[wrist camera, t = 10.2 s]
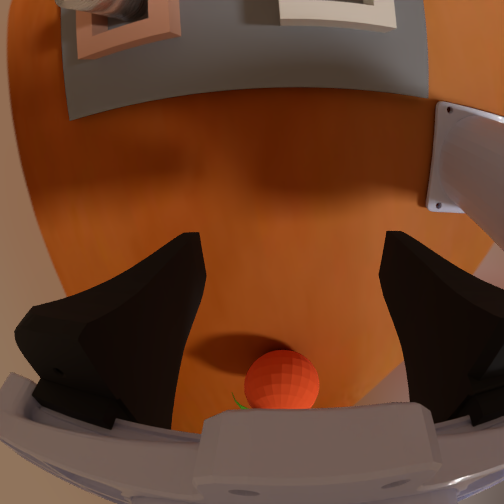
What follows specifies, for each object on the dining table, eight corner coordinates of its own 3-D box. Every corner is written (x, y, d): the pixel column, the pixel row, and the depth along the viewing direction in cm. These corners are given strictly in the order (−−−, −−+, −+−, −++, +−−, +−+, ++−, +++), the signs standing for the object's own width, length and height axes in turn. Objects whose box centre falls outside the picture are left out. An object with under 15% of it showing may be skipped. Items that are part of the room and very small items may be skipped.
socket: (177, -43, 11) (166, -54, 9) (181, 36, 14) (169, 31, 12) (92, -15, 11) (76, -21, 10) (94, 59, 15) (77, 59, 13)
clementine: (240, 375, 31) (232, 432, 25) (233, 333, 27) (221, 397, 21) (314, 376, 30) (316, 433, 24) (320, 333, 27) (325, 399, 21)
